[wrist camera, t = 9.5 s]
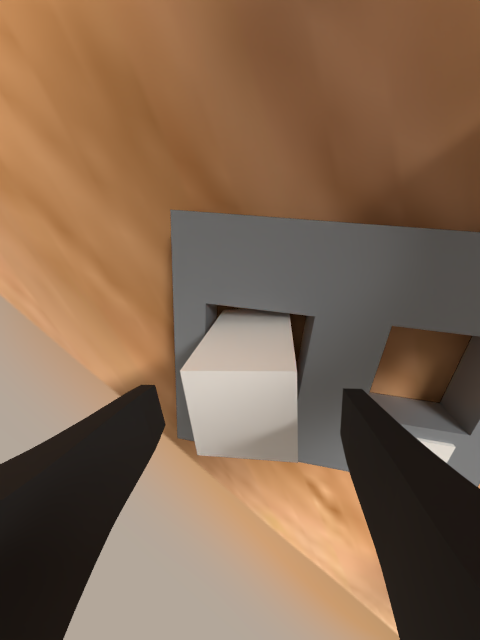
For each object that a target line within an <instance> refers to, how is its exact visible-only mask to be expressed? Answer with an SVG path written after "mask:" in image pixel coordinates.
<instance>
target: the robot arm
mask: <svg viewBox="0 0 480 640" xmlns="http://www.w3.org/2000/svg"><path fill="white" fill-rule="evenodd" d="M164 427H165V421H164V417H163V414H162V410H161V406H160V402H159V399H158V395H157V391H156V387H155V385H140V386H138V387H136V388H135V389H133V390H131V391H129V392H128V393H126V394H124V395H122V396H121V397H119V398H118V399H116V400H114V401H113V402H111V403H109V404H108V405H106V406H104V407H103V408H101V409H100V410H98V411H96V412H95V413H93V414H91V415H90V416H89V417H87V418H85V419H83V420H82V421H80V422H78V423H76V424H75V425H73V426H71V427H69V428H68V429H66V430H64V431H62V432H61V433H59V434H57V435H56V436H54V437H52V438H50V439H48V440H47V441H45V442H43V443H41V444H39V445H37V446H35V447H34V448H32V449H30V450H28V451H26V452H24V453H22V454H20V455H18V456H16V457H14V458H12V459H10V460H8V461H6V462H4V463H2V464H0V640H63V638H64V636H65V633H66V631H67V628H68V626H69V623H70V621H71V619H72V616H73V614H74V611H75V609H76V607H77V604H78V602H79V600H80V597H81V595H82V593H83V591H84V588H85V586H86V584H87V581H88V579H89V577H90V575H91V572H92V570H93V568H94V565H95V563H96V561H97V559H98V557H99V555H100V552H101V550H102V548H103V546H104V544H105V542H106V540H107V537H108V535H109V533H110V531H111V529H112V527H113V525H114V523H115V521H116V519H117V517H118V516H119V514H120V512H121V510H122V508H123V506H124V505H125V503H126V501H127V499H128V498H129V496H130V494H131V492H132V491H133V489H134V487H135V485H136V483H137V482H138V480H139V478H140V476H141V475H142V473H143V471H144V469H145V467H146V466H147V464H148V462H149V460H150V458H151V456H152V455H153V453H154V451H155V449H156V446H157V444H158V442H159V440H160V437H161V434H162V432H163V430H164ZM340 436H341V440H342V445H343V449H344V454H345V458H346V462H347V466H348V469H349V472H350V475H351V478H352V481H353V484H354V487H355V490H356V493H357V496H358V499H359V502H360V505H361V507H362V510H363V513H364V516H365V519H366V522H367V525H368V528H369V531H370V534H371V537H372V540H373V543H374V546H375V549H376V552H377V555H378V559H379V562H380V565H381V568H382V572H383V576H384V580H385V584H386V587H387V591H388V595H389V599H390V603H391V607H392V610H393V614H394V618H395V622H396V626H397V630H398V634H399V638H400V640H480V489H479V488H478V487H477V486H475V485H474V484H473V483H471V482H470V481H469V480H467V479H466V478H465V477H464V476H462V475H461V474H460V473H458V472H457V471H456V470H455V469H453V468H452V467H451V466H450V465H448V464H447V463H446V462H445V461H443V460H442V459H441V458H440V457H438V456H437V455H436V454H435V453H433V452H432V451H431V450H430V449H428V448H427V447H426V446H425V445H424V444H423V443H421V442H420V441H419V440H418V439H417V438H415V437H414V436H413V435H412V434H411V433H410V432H409V431H407V430H406V429H405V428H404V427H403V426H402V425H401V424H399V423H398V422H397V421H396V420H395V419H394V418H393V417H392V416H391V415H390V414H388V413H387V412H386V411H385V410H384V409H383V408H382V407H381V406H380V405H379V404H378V403H377V402H376V401H374V400H373V399H372V398H371V397H370V396H369V395H368V394H367V393H366V392H365V391H364V390H363V389H346V388H343V396H342V411H341V427H340Z"/></svg>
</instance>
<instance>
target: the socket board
mask: <svg viewBox="0 0 480 640" xmlns="http://www.w3.org/2000/svg"><path fill="white" fill-rule="evenodd" d="M170 211H171V243H172V275H173V308H174V340H175V373H176V405H177V437H178V438H180V439H185V440H190V441H194V436H193V431H192V426H191V421H190V417H189V412H188V407H187V402H186V398H185V393H184V388H183V383H182V378H181V374H180V370H181V369H182V367H183V366H184V364H185V363H186V362H187V360H188V359H189V357H190V356H191V355H192V353H193V352H194V350H195V349H196V348H197V346H198V345H199V344H200V342H201V341H202V339H203V338H204V337H205V335H206V334H207V332H208V331H209V330H210V328H211V327H212V325H213V324H214V323H215V321H216V318H217V305H224V306H232V307H241V308H249V309H257V310H265V311H274V312H282V313H290V314H298V315H307V316H306V321H305V326H304V331H303V337H302V342H301V347H300V352H299V357H298V363H297V416H298V462H302V463H307V464H312V465H318V466H323V467H328V468H333V469H338V470H343V471H348V472H349V469H348V466H347V462H346V458H345V454H344V449H343V445H342V440H341V436H340V427H341V411H342V396H343V388H346V389H363V390H364V391H365V392H366V393H367V394H368V395H369V396H370V397H371V398H372V399H373V400H374V401H376V402H377V403H378V404H379V405H380V406H381V407H382V408H383V409H384V410H385V411H386V412H387V413H388V414H390V415H391V416H392V417H393V418H394V419H395V420H396V421H397V422H398V423H399V424H401V425H402V426H403V427H404V428H405V429H406V430H407V431H409V432H410V433H411V434H412V435H413V436H414V437H415V438H417V439H418V440H419V441H420V442H421V443H423V444H424V445H425V446H426V447H427V448H428V449H430V450H431V451H432V452H433V453H435V454H436V455H437V456H438V457H440V458H441V459H442V460H443V461H445V462H446V463H447V464H448V465H450V466H451V467H452V468H453V469H455V470H456V471H457V472H458V473H460V474H461V475H462V476H464V477H465V478H466V479H467V480H469V481H470V482H471V483H473V484H474V485H475V486H477V487H478V486H479V484H480V232H469V231H456V230H442V229H428V228H414V227H401V226H387V225H373V224H360V223H346V222H332V221H319V220H305V219H291V218H277V217H264V216H250V215H236V214H223V213H209V212H195V211H182V210H170ZM392 326H397V327H406V328H414V329H422V330H430V331H438V332H447V333H455V334H463V335H471V336H472V338H471V340H470V342H469V344H468V346H467V348H466V350H465V352H464V355H463V357H462V359H461V361H460V363H459V365H458V367H457V369H456V371H455V373H454V375H453V377H452V379H451V381H450V383H449V385H448V387H447V389H446V391H445V394H444V396H443V398H442V400H441V402H440V403H435V402H429V401H422V400H416V399H409V398H403V397H396V396H390V395H384V394H377V393H371V392H370V389H371V386H372V383H373V380H374V377H375V374H376V371H377V368H378V365H379V362H380V359H381V356H382V354H383V351H384V348H385V345H386V342H387V339H388V336H389V333H390V330H391V327H392Z"/></svg>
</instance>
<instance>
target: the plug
mask: <svg viewBox="0 0 480 640" xmlns="http://www.w3.org/2000/svg"><path fill="white" fill-rule="evenodd" d="M180 374H181V378H182V383H183V388H184V393H185V398H186V402H187V407H188V412H189V417H190V421H191V426H192V431H193V436H194V441H195V445H196V450H197V455H203V456H216V457H230V458H243V459H257V460H270V461H283V462H297V463H298V416H297V368H296V360H295V352H294V345H293V337H292V329H291V322H290V314H289V313H282V312H274V311H265V310H257V309H227V310H223V311H222V313H221V314H220V316H219V317H218V318H217V320H216V321H215V323H214V324H213V325H212V327H211V328H210V330H209V331H208V332H207V334H206V335H205V337H204V338H203V339H202V341H201V342H200V344H199V345H198V346H197V348H196V349H195V350H194V352H193V353H192V355H191V356H190V357H189V359H188V360H187V362H186V363H185V364H184V366H183V367H182V369H181V370H180Z"/></svg>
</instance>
